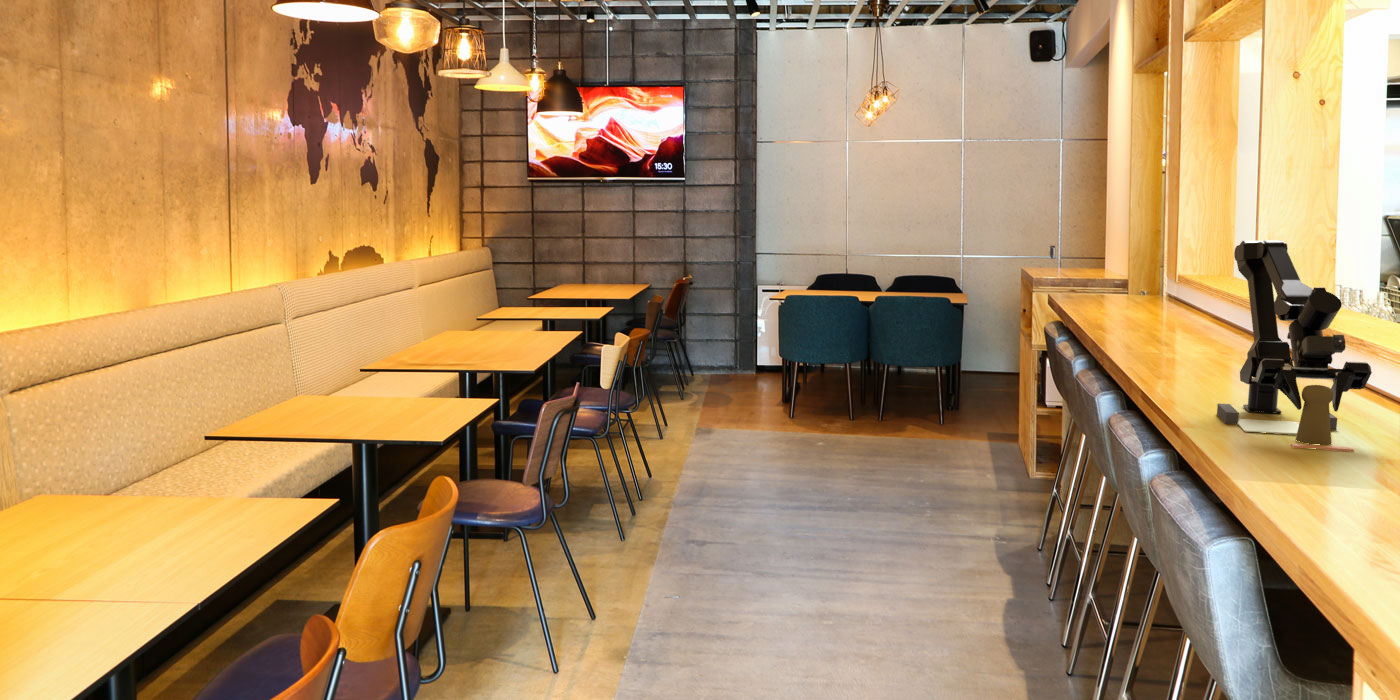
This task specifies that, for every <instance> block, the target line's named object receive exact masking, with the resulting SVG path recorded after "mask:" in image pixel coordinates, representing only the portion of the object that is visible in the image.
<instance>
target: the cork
mask: <svg viewBox="0 0 1400 700" xmlns="http://www.w3.org/2000/svg"><path fill="white" fill-rule="evenodd" d="M1331 388H1332V387H1331ZM1331 388H1330V387H1329V386H1327V385H1321V384H1310V385H1306V386H1304V387H1303V389H1302V391H1301V400H1303V401H1304V403H1303V407H1302V411H1301V415H1300V419H1299V422H1298V423H1299V427H1298V432H1297V435H1295V441H1296V440H1297V441H1300V442H1303V443H1302V444H1304V443H1309V444H1308V445H1310V444H1320V445H1323V446H1330V445H1332V444H1331V443H1332V429H1331V427H1330V413H1331V412H1330V403H1332V399H1333V391H1332V390H1331ZM1297 441H1296V442H1297ZM1300 442H1299V443H1300ZM1329 444H1330V445H1329Z"/></svg>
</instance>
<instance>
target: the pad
mask: <svg viewBox="0 0 1400 700" xmlns="http://www.w3.org/2000/svg"><path fill="white" fill-rule="evenodd" d="M1299 423H1300V422H1298V421H1288V420H1287V421H1286V420H1268V419H1267V420H1266V419H1252V418H1251V419H1249V418H1239V419H1238V422H1237V424H1238V425H1239V426H1240V427H1241V428H1242V429H1243V430H1244V431H1245V432H1244V431H1243V430H1242V429H1241V428H1240V427H1239V426H1238V425H1237V424H1236V425H1237V426H1238V427H1239V428H1240V429H1241V430H1242V431H1243V432H1244V433H1246V432H1266V433H1275V434H1274V435H1281V434H1288V435H1287V436H1297V432H1298V427H1299Z"/></svg>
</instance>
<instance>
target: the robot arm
mask: <svg viewBox="0 0 1400 700" xmlns="http://www.w3.org/2000/svg"><path fill="white" fill-rule="evenodd" d="M1233 253H1234V256H1233V257H1234V260H1235V261H1236V263H1237V264H1236V265H1237V270H1238V272H1239V273H1240V274H1241V275H1242V276H1243V277H1244V278H1245V280H1246V281H1247V286H1248V289H1247V290H1248V295H1249V305H1250V307H1249V308H1250V313H1251V314H1250V315H1251V316H1250V317H1251V322H1252V323H1251V325H1252V332H1253V334H1252V335H1253V342H1252V344H1251V346H1250V348H1249V350H1248V352H1247V355H1246V356H1247V358H1246V360H1245V362H1244V363H1243V365H1242V367H1241V369H1240V370H1239V379H1240V380H1239V381H1240V382H1242V383H1244V384H1247V385H1248V386H1249V387H1248V397H1247V398H1248V399H1247V404H1242V405H1243V406H1242V407H1243V408H1244V409H1245V410H1246V411H1248V412H1250V413H1263V414H1264V413H1267V414H1269V413H1270V414H1282V410H1281V409H1279V408H1278V399H1279V391H1280V392H1282V393H1283V395H1285V396H1286V397H1287V399H1288V400H1290V402H1291V403H1292V404H1293V406H1294V407H1295V408H1296V409H1297V410H1299V411H1300V410H1301V409H1302V408H1303V407H1302V397H1301V394H1300V391H1299V390H1300V389H1299V387H1298V383H1297V379H1309V380H1310V379H1312V380H1332V382H1333V383H1332V386H1331V390H1332V391H1333V399H1332V401H1331V403H1332V409H1333V411H1334V412H1338V410H1339V407H1340V405H1341V404H1340V403H1341V400H1342V396H1343V393H1347V392H1348V391H1349V390H1362V389H1363V390H1364V389H1365V387H1366V385H1367V383H1368V381H1369V379H1370V377H1371V375H1372V373H1373V372H1372V368H1371V365H1370V364H1369V363H1368V362H1365V361H1364V362H1363V361H1345V363H1344V365H1343V367H1342V368H1330V367H1329V365H1331V364H1332V362H1333V355H1335V353H1337V354H1338V353H1339V354H1343V352H1344V351H1345V350H1346V339H1345V338H1346V337H1345V335H1344V334H1333V335H1332V336H1330V335H1323V330H1326V329H1328V328H1329V327H1330V326H1331V324H1332V322H1333V321H1334V319H1335V317H1336V316H1337V315H1338V313H1339V312H1340V309H1341V308H1342V301H1341V299H1340V298H1338V297H1337V295H1336V294H1333V293H1332V292H1330V291H1327V289H1326V287H1324V286H1323V287H1322V286H1321V287H1320V286H1319V287H1318V286H1317V287H1313V288H1312V287H1310V286H1308V285H1307V284H1305V283H1303V282H1302V281H1301V278H1300V276H1299V274H1298V272H1297V269H1296V268H1295V265H1294V264H1293V261H1292V259H1291V256H1290V255H1289V252H1288V243H1287V242H1286V241H1283V240H1273V239H1271V240H1269V239H1268V240H1266V239H1265V240H1242V241H1241V242H1240V243H1239V244H1238V245H1236V246H1235V248H1234V252H1233ZM1274 290H1275V293H1276V295H1277V296H1276V298H1275V295H1274ZM1277 318H1278V319H1279V321H1284V322H1287V321H1288V322H1291V323H1290V324H1289V325H1288V334H1287V337H1286V338H1287V339H1288V340H1290V344H1289V342H1288V341H1283V340H1282V339H1281V338H1280V337H1279V331H1278V321H1277ZM1290 345H1291V350H1290ZM1290 351H1291V352H1290ZM1291 353H1292V354H1291Z"/></svg>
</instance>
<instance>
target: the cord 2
mask: <svg viewBox="0 0 1400 700" xmlns="http://www.w3.org/2000/svg"><path fill="white" fill-rule="evenodd" d="M1337 426H1338V417H1337V416H1335V415H1334V414H1333V413H1331V412H1330V427H1331V430H1334V429H1336V430H1337Z"/></svg>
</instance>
